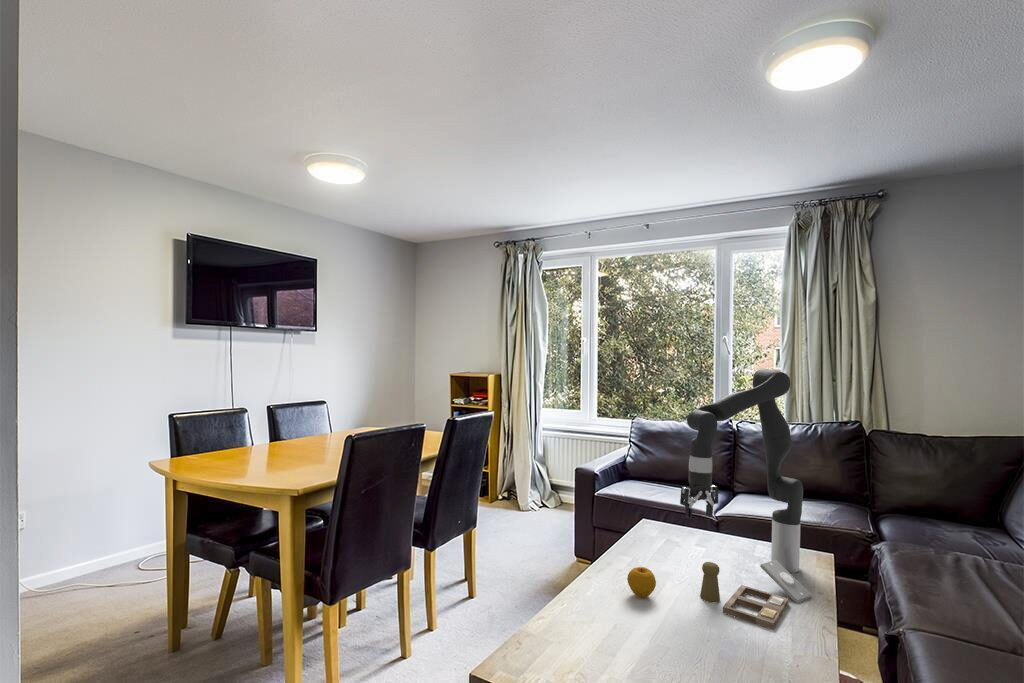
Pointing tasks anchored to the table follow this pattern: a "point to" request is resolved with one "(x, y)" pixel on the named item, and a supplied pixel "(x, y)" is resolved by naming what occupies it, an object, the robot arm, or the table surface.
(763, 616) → the wooden frame
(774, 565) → the light switch
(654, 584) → the apple
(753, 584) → the table surface
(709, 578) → the olive pawn figure
